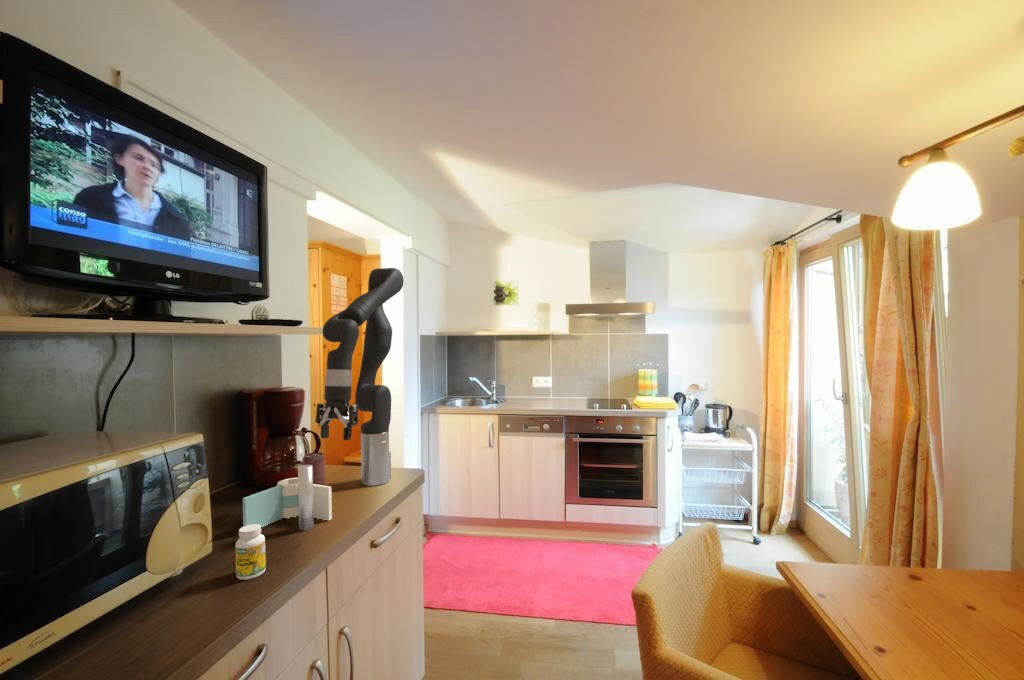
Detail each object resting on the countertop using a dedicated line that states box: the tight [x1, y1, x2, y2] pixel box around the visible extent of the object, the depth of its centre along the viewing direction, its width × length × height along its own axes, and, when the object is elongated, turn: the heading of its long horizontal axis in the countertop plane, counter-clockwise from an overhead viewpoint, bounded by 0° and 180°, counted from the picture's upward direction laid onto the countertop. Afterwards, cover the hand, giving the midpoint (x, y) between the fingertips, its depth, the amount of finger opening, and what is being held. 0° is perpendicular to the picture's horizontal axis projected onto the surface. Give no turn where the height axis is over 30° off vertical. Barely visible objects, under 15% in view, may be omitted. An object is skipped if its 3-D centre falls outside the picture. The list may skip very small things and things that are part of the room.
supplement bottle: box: [234, 524, 267, 581], centre depth 92 cm, size 5×5×10 cm
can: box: [302, 452, 326, 486], centre depth 135 cm, size 6×6×14 cm
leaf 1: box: [242, 485, 299, 528], centre depth 120 cm, size 18×7×9 cm, turn 157°
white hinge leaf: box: [276, 476, 333, 522], centre depth 123 cm, size 7×18×9 cm, turn 67°
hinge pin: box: [297, 464, 315, 532], centre depth 115 cm, size 4×4×16 cm
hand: (335, 439), depth 132 cm, fingers open, 8 cm apart
